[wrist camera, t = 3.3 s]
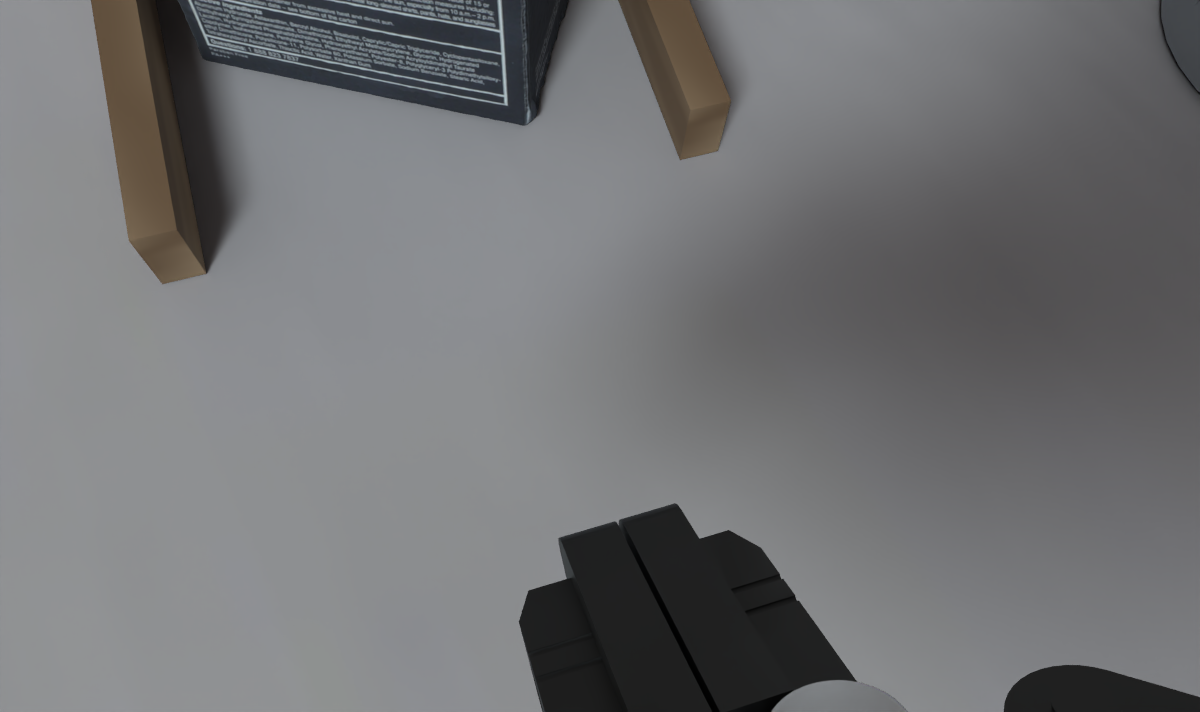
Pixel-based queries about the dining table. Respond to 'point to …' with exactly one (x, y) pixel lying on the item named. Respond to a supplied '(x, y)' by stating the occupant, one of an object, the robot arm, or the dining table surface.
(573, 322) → the dining table surface
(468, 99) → the small box
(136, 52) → the walnut tunnel
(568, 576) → the robot arm
